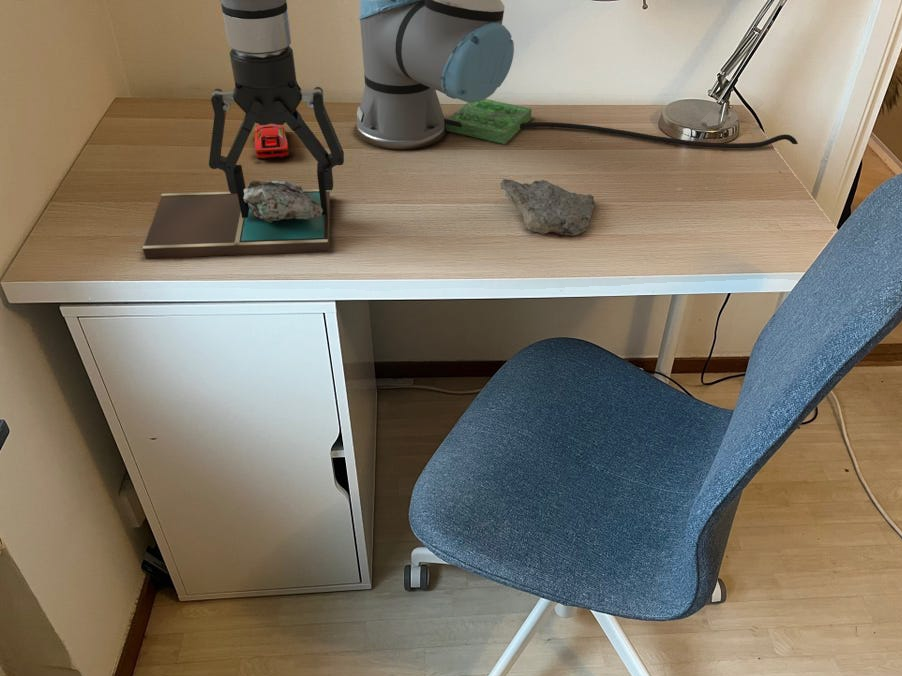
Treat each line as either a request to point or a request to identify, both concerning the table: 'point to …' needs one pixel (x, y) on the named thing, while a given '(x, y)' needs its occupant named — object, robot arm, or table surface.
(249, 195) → the mineral specimen
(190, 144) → the table surface
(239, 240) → the board
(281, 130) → the toy car
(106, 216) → the table surface
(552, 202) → the rock
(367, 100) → the robot arm
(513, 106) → the marbled green block
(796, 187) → the table surface
